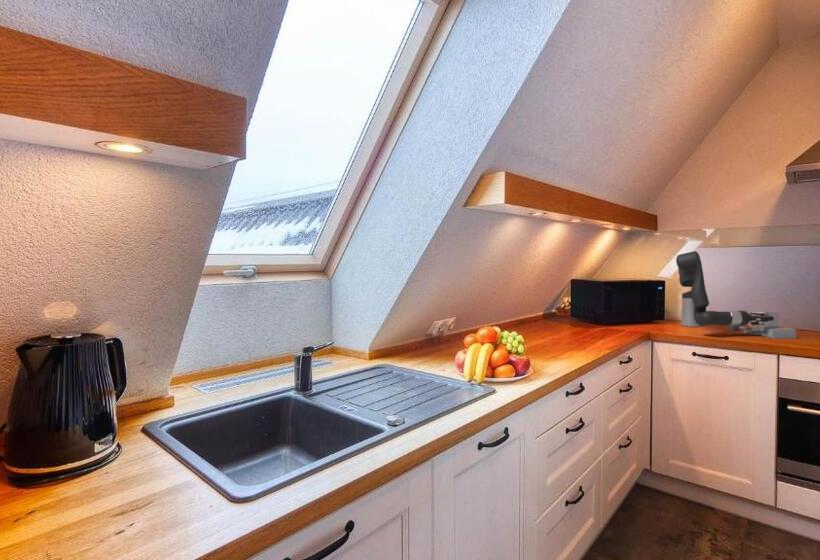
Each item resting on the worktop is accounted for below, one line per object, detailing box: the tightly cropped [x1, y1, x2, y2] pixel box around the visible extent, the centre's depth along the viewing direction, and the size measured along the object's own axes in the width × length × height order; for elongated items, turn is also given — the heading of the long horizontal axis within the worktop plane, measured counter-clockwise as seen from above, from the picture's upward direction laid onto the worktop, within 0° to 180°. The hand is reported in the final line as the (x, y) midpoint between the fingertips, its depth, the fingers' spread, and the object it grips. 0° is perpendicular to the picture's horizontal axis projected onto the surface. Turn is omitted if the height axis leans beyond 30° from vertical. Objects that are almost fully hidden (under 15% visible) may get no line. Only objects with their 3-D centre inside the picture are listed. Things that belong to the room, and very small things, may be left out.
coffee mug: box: [749, 311, 765, 325], centre depth 260 cm, size 12×9×10 cm
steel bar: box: [763, 311, 780, 333], centre depth 240 cm, size 4×5×11 cm
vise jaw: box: [729, 324, 764, 333], centre depth 247 cm, size 3×22×3 cm, turn 92°
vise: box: [742, 327, 797, 339], centre depth 241 cm, size 20×12×4 cm, turn 2°
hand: (766, 317), depth 240 cm, fingers open, 8 cm apart
